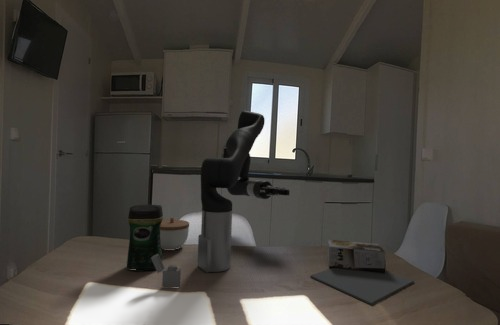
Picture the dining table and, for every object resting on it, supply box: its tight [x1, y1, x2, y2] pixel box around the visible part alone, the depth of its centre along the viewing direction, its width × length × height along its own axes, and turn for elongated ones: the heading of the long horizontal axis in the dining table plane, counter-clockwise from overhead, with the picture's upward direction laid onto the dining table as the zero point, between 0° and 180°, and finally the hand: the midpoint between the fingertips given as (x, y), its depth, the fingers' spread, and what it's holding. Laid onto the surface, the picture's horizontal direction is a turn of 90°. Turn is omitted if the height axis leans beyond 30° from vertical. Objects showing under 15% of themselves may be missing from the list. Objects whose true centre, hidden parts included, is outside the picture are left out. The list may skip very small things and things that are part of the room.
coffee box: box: [327, 239, 387, 273], centre depth 83 cm, size 9×6×16 cm
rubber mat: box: [309, 267, 415, 306], centre depth 74 cm, size 22×18×1 cm
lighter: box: [151, 254, 182, 288], centre depth 66 cm, size 7×2×8 cm, turn 91°
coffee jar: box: [126, 204, 164, 271], centre depth 79 cm, size 10×8×19 cm
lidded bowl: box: [160, 217, 190, 249], centre depth 98 cm, size 13×13×11 cm
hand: (288, 192), depth 98 cm, fingers closed
